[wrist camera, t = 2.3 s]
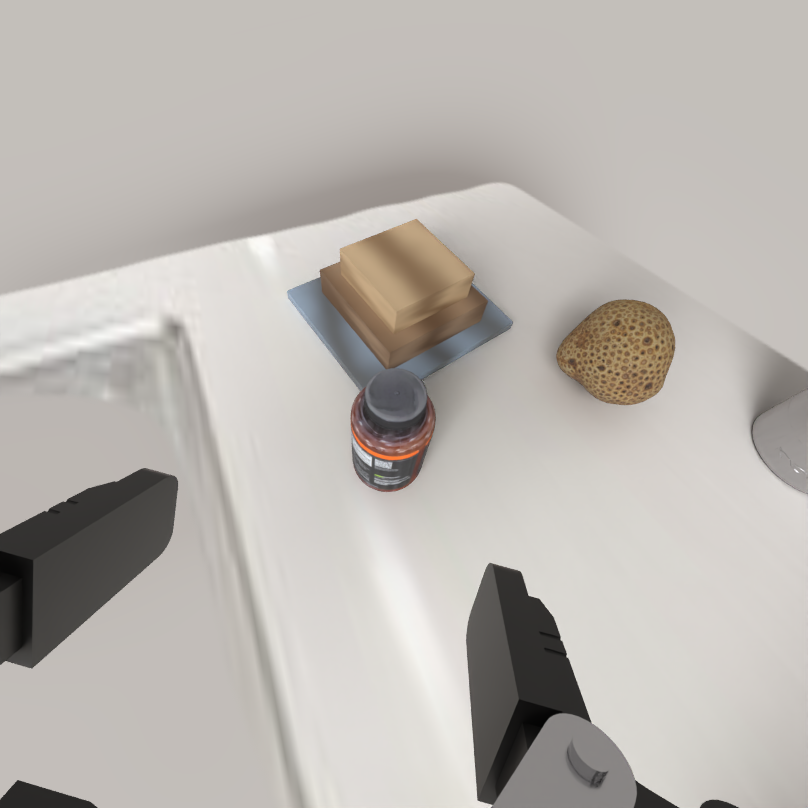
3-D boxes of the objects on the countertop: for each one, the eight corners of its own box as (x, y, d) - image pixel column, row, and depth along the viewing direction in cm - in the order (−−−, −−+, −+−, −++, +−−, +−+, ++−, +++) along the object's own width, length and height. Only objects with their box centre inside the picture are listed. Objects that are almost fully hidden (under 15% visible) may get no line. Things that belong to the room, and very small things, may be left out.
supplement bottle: (407, 422, 37) (425, 346, 28) (430, 482, 35) (459, 421, 25) (344, 439, 36) (339, 365, 26) (363, 503, 33) (365, 447, 23)
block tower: (421, 242, 50) (429, 187, 44) (510, 328, 44) (534, 279, 38) (288, 297, 43) (277, 242, 37) (373, 407, 38) (376, 363, 32)
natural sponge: (651, 412, 41) (731, 351, 32) (577, 435, 38) (640, 376, 30) (602, 342, 45) (661, 271, 36) (532, 359, 42) (577, 288, 34)
